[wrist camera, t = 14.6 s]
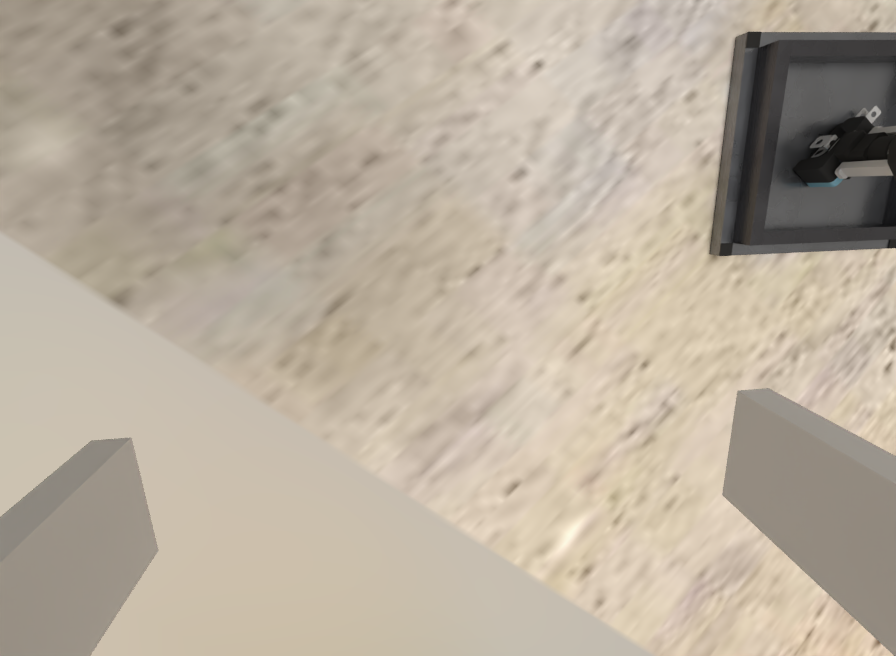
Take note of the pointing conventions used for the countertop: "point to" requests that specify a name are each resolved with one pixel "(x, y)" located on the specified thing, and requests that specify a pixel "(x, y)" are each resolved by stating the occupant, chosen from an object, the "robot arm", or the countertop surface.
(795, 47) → the grey metal square tray
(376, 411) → the countertop surface
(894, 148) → the push button
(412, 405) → the countertop surface
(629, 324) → the countertop surface
